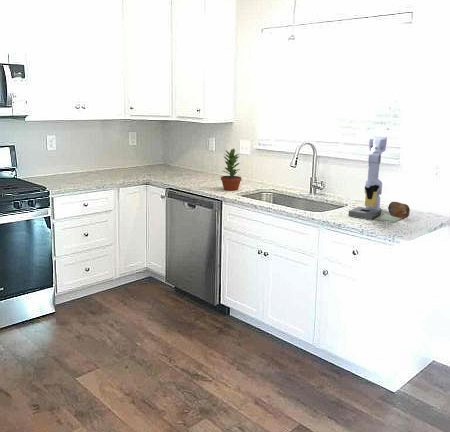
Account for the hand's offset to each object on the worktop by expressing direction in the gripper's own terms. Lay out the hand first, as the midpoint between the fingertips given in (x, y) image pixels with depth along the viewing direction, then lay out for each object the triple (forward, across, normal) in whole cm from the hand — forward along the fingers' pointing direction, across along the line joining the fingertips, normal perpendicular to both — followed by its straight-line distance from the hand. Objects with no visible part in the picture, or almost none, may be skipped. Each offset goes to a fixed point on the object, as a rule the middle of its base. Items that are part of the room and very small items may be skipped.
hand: (371, 198), depth 294 cm
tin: (+11, +10, -13) cm, 20 cm away
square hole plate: (+10, 0, +3) cm, 11 cm away
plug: (+4, 0, 0) cm, 4 cm away
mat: (+10, +1, -11) cm, 15 cm away
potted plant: (+11, +10, +107) cm, 108 cm away
